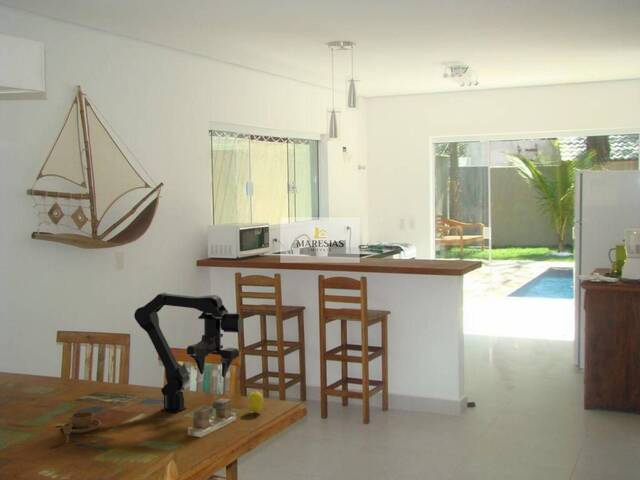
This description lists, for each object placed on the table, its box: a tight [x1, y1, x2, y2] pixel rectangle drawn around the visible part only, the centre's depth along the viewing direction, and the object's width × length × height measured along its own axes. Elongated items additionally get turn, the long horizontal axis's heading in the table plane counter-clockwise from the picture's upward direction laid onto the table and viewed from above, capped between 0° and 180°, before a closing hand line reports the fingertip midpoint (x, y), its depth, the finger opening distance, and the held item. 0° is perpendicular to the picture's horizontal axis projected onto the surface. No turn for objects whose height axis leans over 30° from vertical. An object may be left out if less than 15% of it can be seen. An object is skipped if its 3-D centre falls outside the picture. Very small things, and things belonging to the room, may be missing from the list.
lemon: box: [247, 390, 265, 414], centre depth 268 cm, size 6×6×8 cm
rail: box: [187, 406, 237, 438], centre depth 252 cm, size 5×20×8 cm, turn 154°
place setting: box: [55, 411, 102, 444], centre depth 247 cm, size 18×20×6 cm
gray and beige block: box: [212, 397, 232, 420], centre depth 256 cm, size 4×5×6 cm, turn 154°
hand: (212, 375), depth 268 cm, fingers open, 9 cm apart
